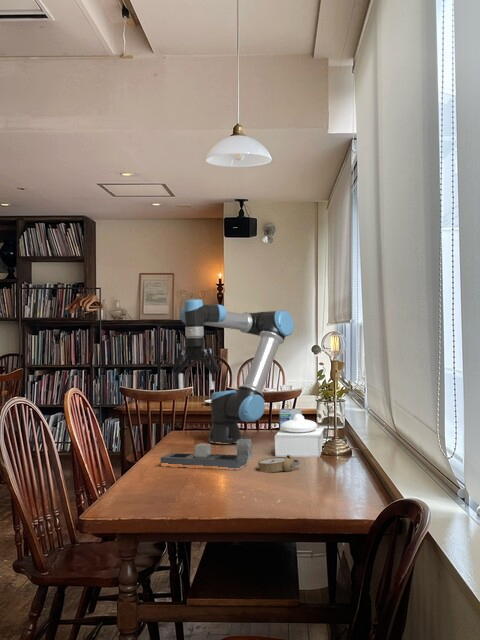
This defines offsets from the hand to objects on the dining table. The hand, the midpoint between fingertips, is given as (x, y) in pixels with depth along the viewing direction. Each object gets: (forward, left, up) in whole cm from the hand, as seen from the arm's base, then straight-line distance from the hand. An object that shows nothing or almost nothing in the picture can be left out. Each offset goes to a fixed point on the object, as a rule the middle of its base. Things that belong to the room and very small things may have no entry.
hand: (196, 389), depth 253 cm
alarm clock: (+18, +39, -27) cm, 51 cm away
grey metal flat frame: (+18, +10, -27) cm, 34 cm away
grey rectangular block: (+18, +10, -27) cm, 34 cm away
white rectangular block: (+6, +22, -27) cm, 35 cm away
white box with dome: (-13, +39, -27) cm, 49 cm away
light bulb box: (-62, +22, -27) cm, 71 cm away
